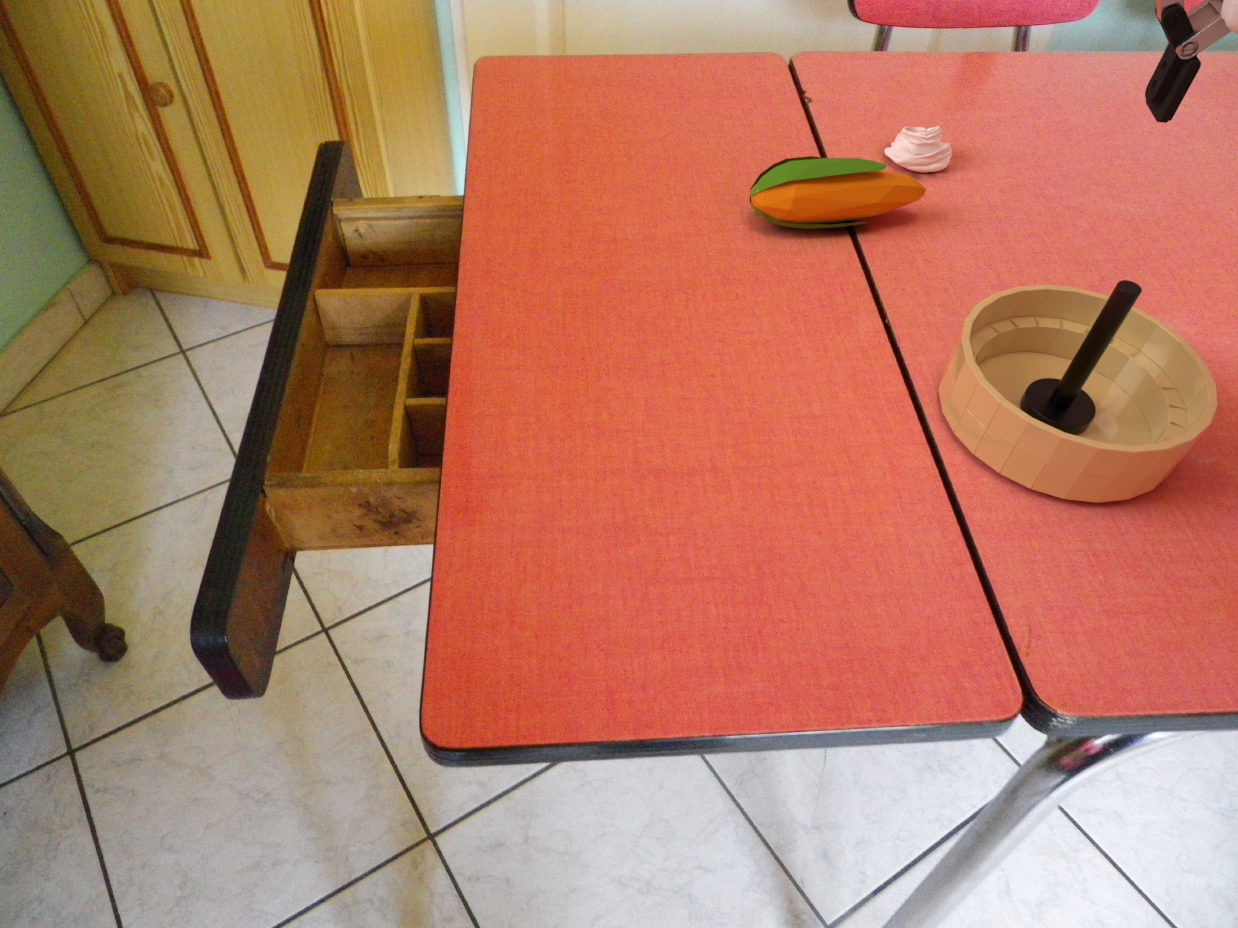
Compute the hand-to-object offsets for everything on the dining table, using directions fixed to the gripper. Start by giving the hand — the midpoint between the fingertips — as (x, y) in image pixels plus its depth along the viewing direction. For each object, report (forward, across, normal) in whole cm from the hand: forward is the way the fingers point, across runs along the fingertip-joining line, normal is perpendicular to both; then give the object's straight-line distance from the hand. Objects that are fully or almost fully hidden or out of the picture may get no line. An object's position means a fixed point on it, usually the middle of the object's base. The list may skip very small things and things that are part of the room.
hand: (1232, 119), depth 55 cm
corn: (+28, -19, +29) cm, 45 cm away
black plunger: (+28, 0, 0) cm, 28 cm away
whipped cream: (+28, -8, +43) cm, 52 cm away
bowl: (+28, 0, 0) cm, 28 cm away
